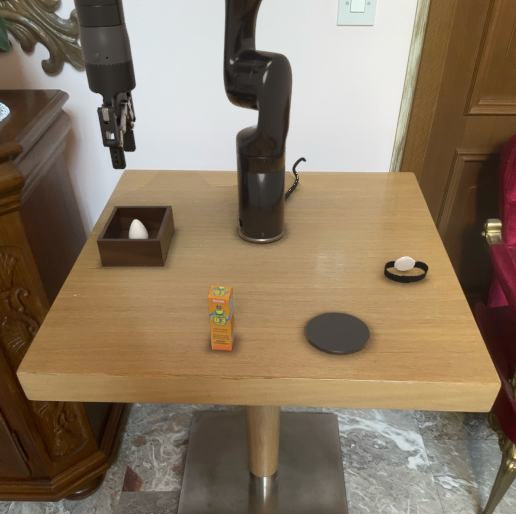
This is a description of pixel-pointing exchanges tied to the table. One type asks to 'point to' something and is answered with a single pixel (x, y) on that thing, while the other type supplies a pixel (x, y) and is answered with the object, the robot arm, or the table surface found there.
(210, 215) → the table surface
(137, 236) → the egg
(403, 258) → the watch
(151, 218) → the crate
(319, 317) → the coaster
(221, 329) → the supplement box
